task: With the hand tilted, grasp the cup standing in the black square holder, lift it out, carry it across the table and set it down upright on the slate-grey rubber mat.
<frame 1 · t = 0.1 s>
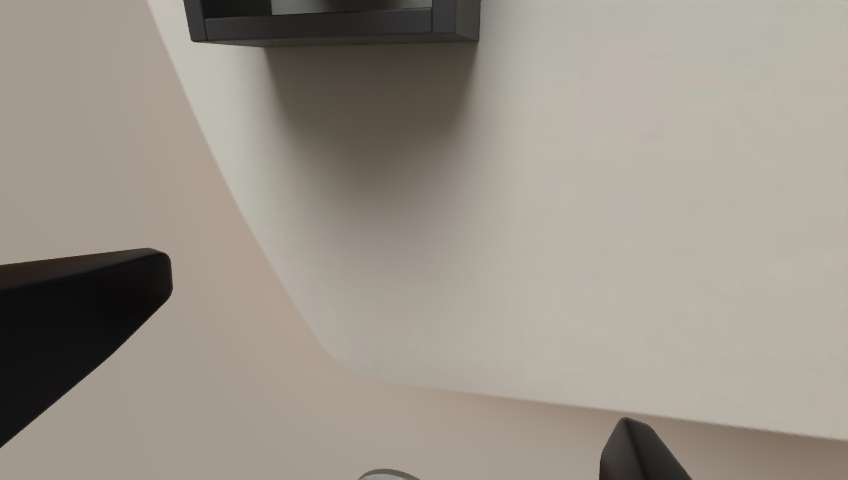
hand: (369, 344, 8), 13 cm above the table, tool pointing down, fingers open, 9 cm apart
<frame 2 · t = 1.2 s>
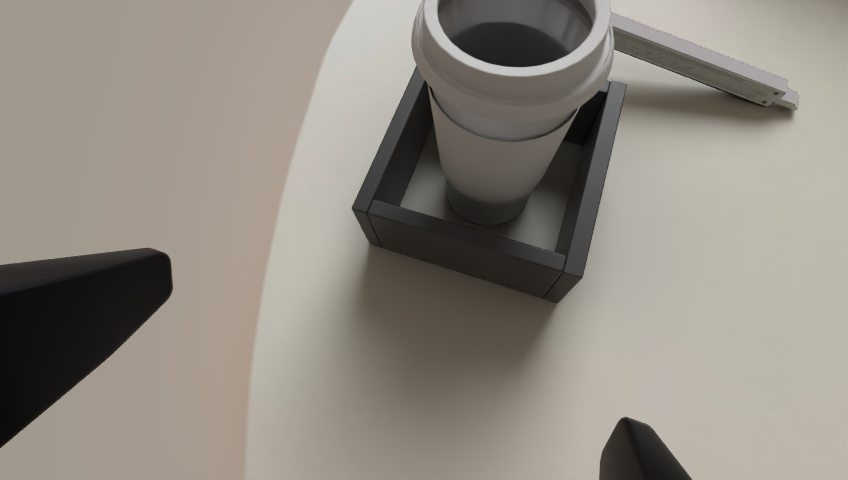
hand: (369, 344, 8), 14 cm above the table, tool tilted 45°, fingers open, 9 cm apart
caliper: (617, 70, 27), on the table
cup: (487, 190, 25), resting in holder
holder: (487, 189, 24), on the table
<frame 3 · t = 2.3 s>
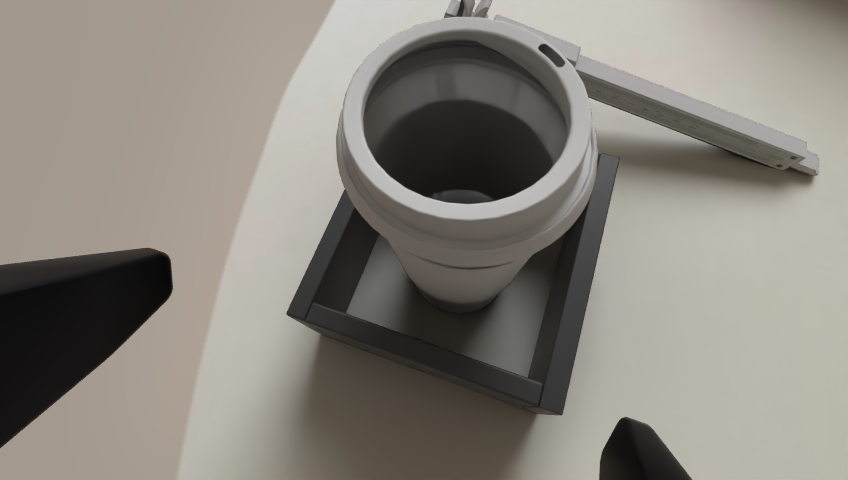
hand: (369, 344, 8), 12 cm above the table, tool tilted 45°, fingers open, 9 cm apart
caliper: (610, 124, 24), on the table
cup: (459, 268, 21), resting in holder
holder: (459, 267, 21), on the table
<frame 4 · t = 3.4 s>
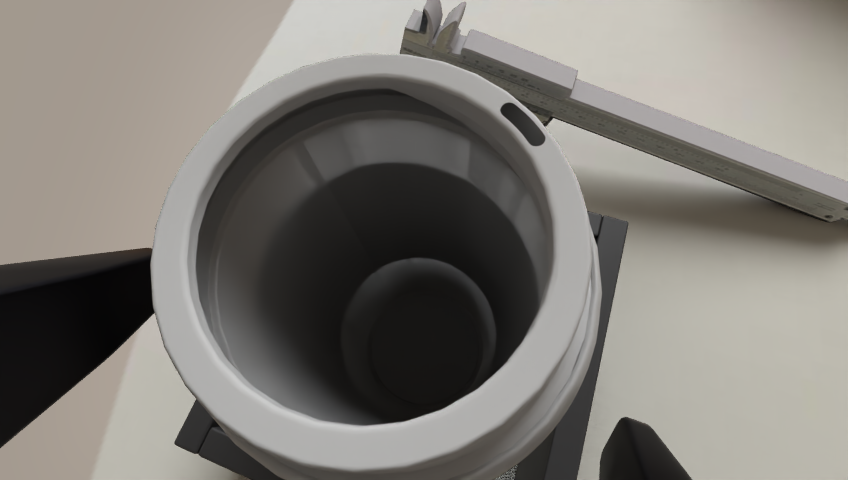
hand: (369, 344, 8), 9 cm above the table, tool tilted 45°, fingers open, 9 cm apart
caliper: (614, 160, 20), on the table
cup: (424, 347, 17), resting in holder
holder: (424, 347, 17), on the table
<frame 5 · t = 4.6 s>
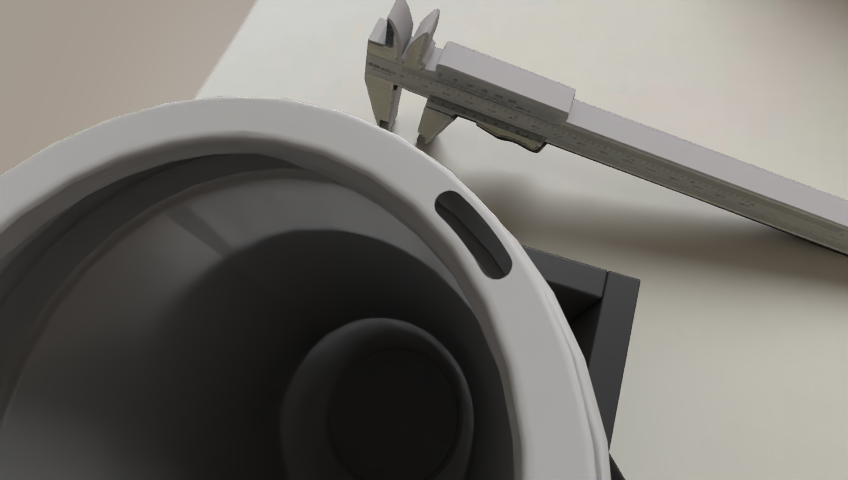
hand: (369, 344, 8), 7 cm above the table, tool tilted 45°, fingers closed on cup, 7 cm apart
caliper: (619, 189, 17), on the table
cup: (394, 414, 14), resting in holder, touching gripper
holder: (394, 414, 14), on the table
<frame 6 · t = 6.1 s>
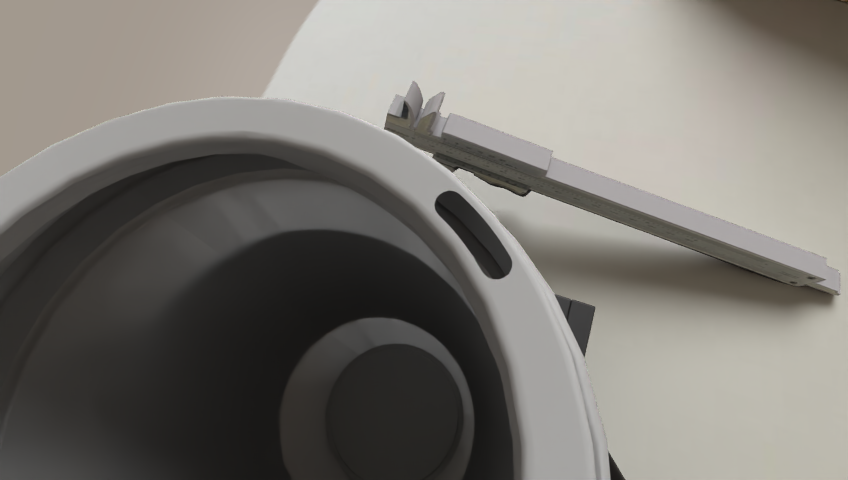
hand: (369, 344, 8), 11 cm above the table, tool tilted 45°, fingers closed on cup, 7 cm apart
caliper: (592, 224, 20), on the table
cup: (394, 414, 14), point 4 cm above the table, touching gripper
holder: (408, 407, 18), on the table
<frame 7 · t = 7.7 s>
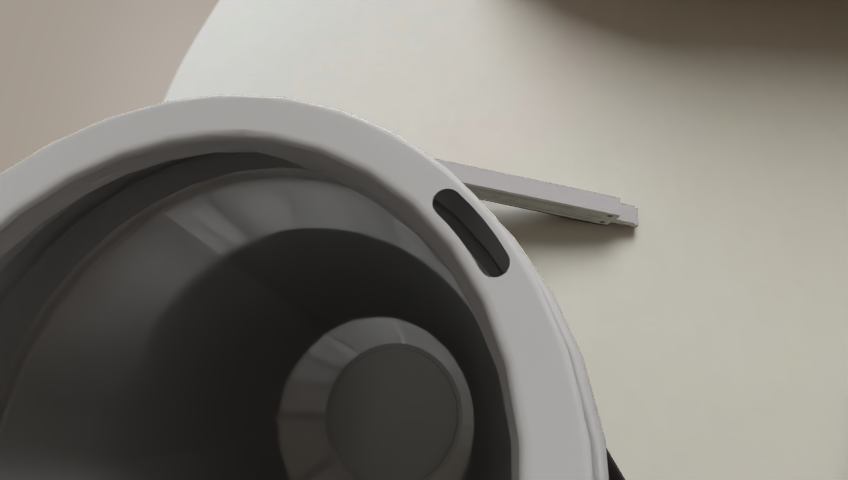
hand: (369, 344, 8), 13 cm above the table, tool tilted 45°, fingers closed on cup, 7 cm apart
caliper: (444, 198, 24), on the table
cup: (394, 413, 14), point 6 cm above the table, touching gripper
when the fingers open (8 cm above the table, at t = 12.4 s): cup stays where it is, resting on mat.
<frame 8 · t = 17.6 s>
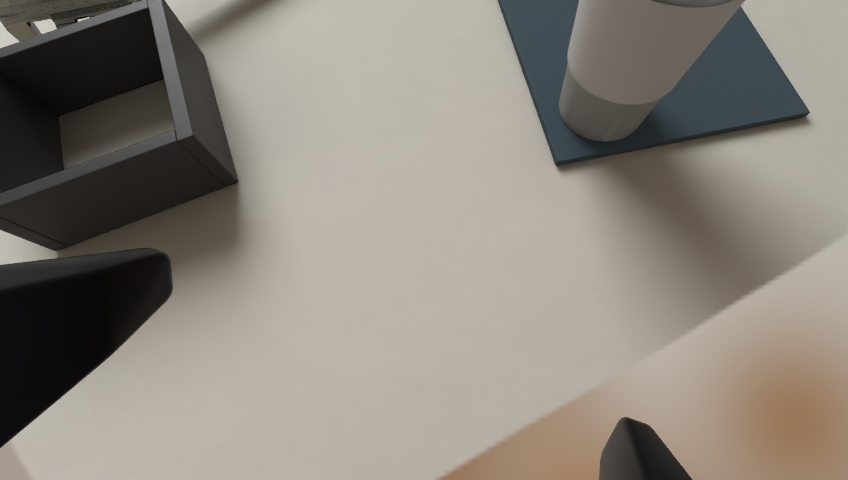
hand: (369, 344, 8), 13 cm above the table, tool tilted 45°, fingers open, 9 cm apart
caliper: (198, 11, 30), on the table
cup: (599, 109, 24), resting on mat
mat: (669, 14, 27), on the table
holder: (136, 144, 26), on the table
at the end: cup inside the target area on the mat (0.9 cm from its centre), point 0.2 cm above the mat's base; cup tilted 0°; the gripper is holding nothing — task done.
